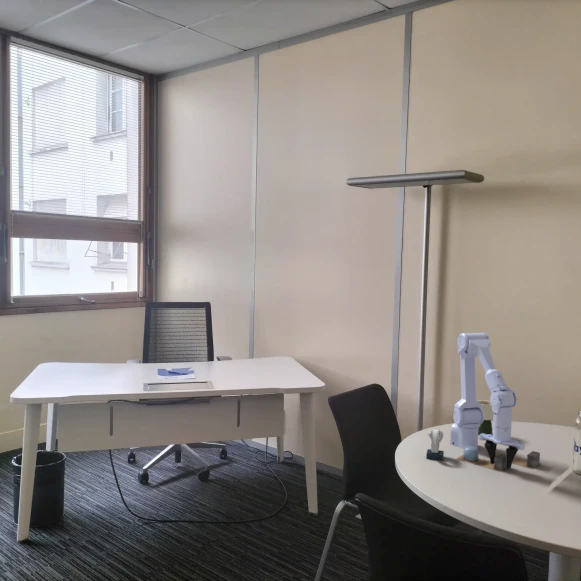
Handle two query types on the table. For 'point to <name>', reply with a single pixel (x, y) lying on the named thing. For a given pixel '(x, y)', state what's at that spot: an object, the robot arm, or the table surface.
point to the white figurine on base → (435, 445)
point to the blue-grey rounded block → (471, 454)
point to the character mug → (486, 417)
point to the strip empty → (531, 461)
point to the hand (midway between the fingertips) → (500, 465)
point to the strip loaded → (498, 465)
